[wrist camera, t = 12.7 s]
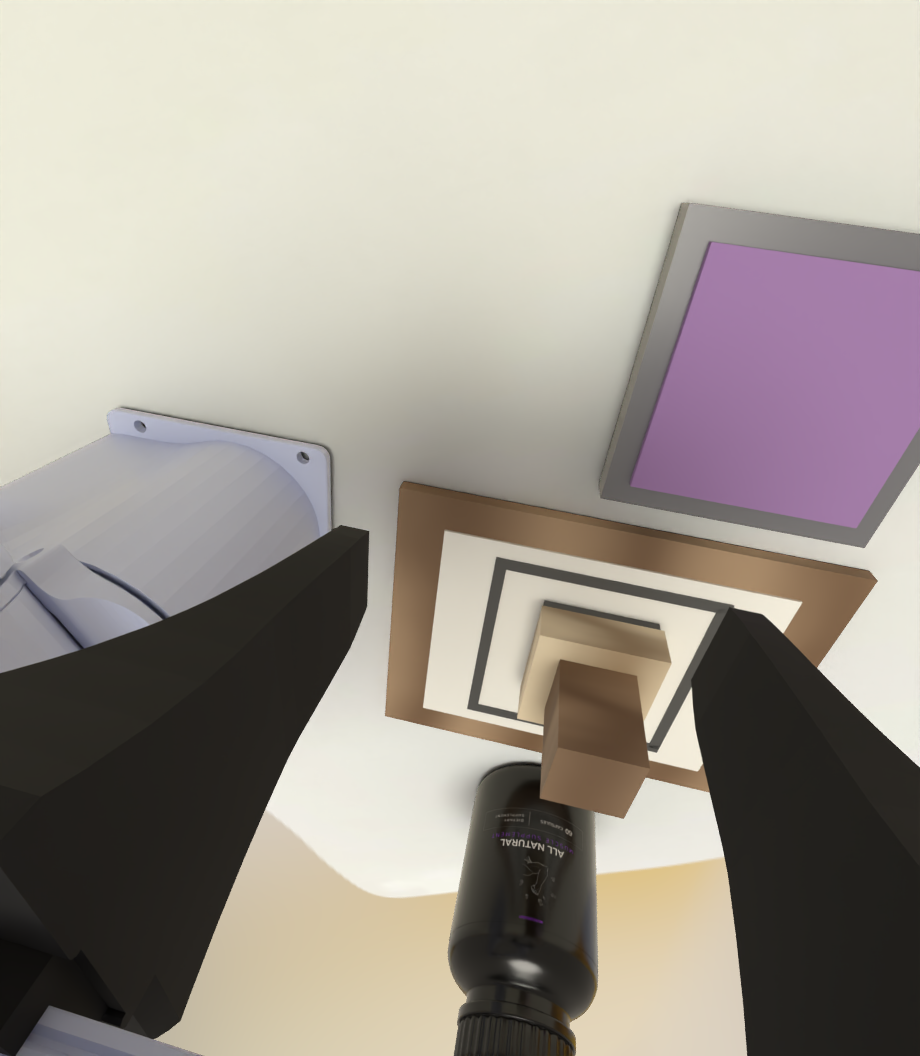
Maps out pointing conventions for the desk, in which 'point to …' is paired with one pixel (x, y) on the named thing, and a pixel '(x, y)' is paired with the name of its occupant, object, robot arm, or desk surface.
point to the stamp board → (582, 581)
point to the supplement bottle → (524, 920)
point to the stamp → (592, 703)
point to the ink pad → (775, 376)
